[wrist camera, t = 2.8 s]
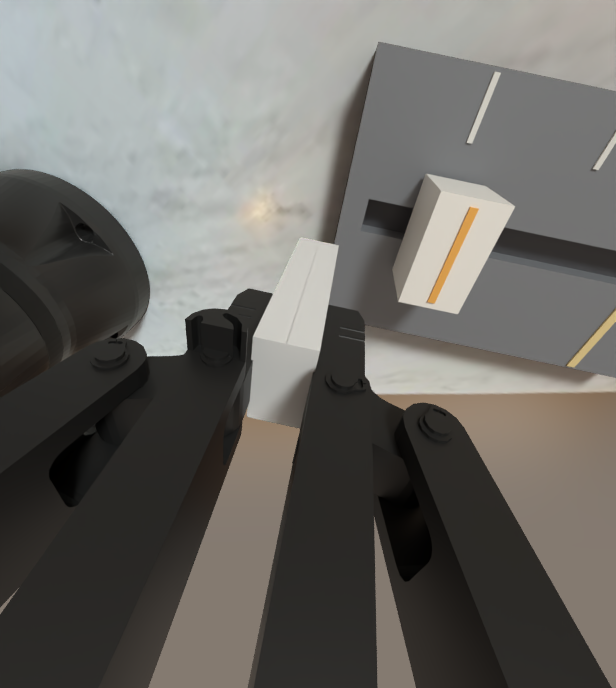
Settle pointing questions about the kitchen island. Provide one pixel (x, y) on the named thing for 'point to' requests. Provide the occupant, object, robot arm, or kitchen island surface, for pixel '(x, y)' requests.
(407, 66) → the console
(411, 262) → the fader tab
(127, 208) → the kitchen island surface
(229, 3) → the kitchen island surface
